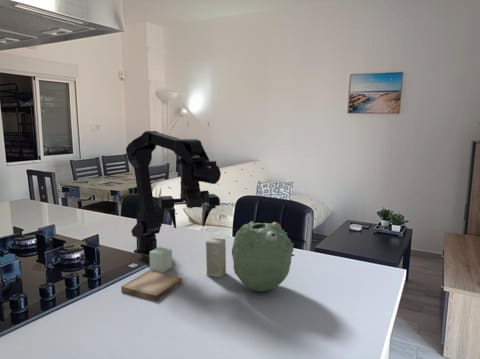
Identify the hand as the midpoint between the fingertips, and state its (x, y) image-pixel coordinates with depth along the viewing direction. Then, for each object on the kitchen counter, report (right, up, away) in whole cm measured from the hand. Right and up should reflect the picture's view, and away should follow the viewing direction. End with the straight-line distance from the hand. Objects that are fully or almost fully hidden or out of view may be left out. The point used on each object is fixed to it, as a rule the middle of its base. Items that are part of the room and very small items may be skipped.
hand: (189, 227), depth 116 cm
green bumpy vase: (+22, -16, -13) cm, 30 cm away
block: (-9, -13, 0) cm, 16 cm away
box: (+9, -15, -3) cm, 17 cm away
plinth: (-9, -16, -13) cm, 22 cm away
